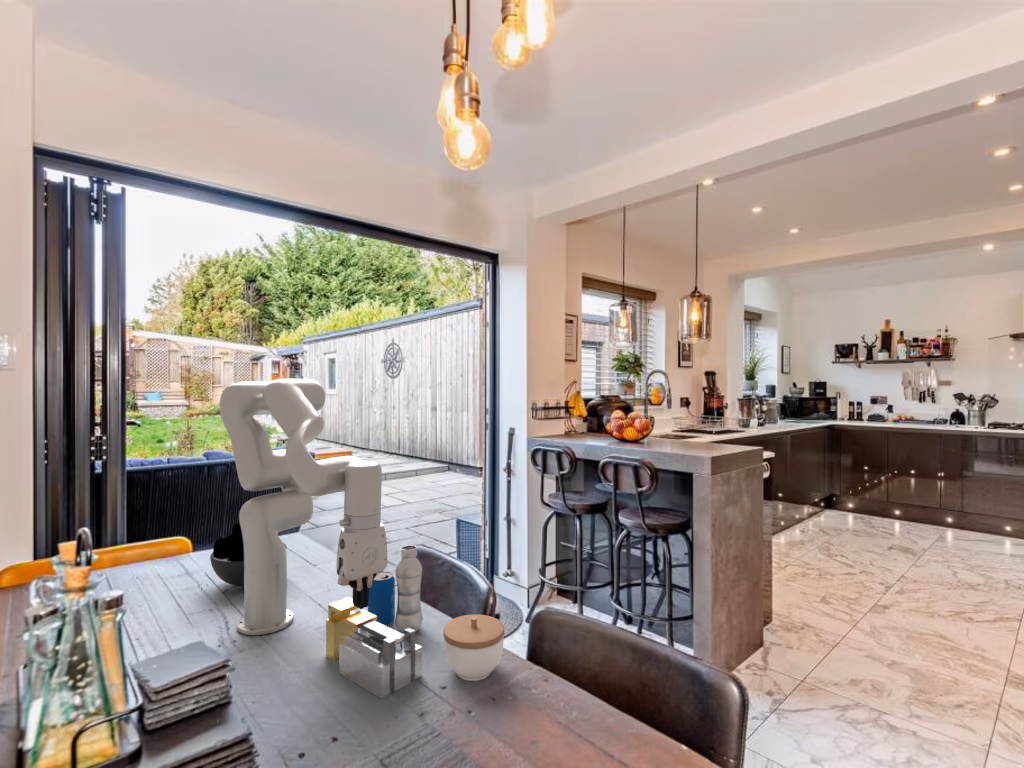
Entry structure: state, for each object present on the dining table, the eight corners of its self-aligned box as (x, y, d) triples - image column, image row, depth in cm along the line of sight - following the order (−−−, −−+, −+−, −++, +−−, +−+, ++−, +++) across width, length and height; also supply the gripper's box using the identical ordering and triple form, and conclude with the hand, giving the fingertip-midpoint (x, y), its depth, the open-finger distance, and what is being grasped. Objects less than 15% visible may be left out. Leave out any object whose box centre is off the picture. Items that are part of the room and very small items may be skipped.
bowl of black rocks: (210, 604, 140) (210, 534, 140) (209, 579, 158) (209, 516, 157) (291, 589, 150) (291, 524, 150) (282, 567, 168) (282, 508, 167)
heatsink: (339, 672, 108) (339, 624, 108) (379, 653, 116) (379, 608, 116) (381, 699, 99) (381, 646, 99) (421, 675, 107) (422, 627, 107)
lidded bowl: (480, 696, 100) (481, 639, 100) (430, 676, 107) (430, 622, 107) (515, 666, 111) (515, 614, 111) (467, 649, 118) (467, 600, 118)
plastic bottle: (427, 626, 128) (427, 545, 128) (413, 639, 122) (413, 553, 122) (404, 622, 131) (404, 542, 130) (389, 634, 124) (389, 550, 124)
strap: (410, 638, 105) (410, 631, 105) (390, 648, 101) (390, 641, 101) (362, 615, 115) (362, 609, 115) (342, 624, 111) (342, 617, 111)
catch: (326, 655, 115) (326, 604, 114) (349, 645, 119) (350, 596, 119) (339, 663, 111) (339, 611, 111) (363, 652, 116) (363, 602, 116)
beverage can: (387, 631, 126) (388, 581, 126) (363, 628, 127) (363, 579, 127) (398, 619, 132) (399, 571, 132) (375, 616, 134) (375, 569, 133)
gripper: (341, 532, 103) (339, 624, 103) (401, 516, 115) (399, 599, 115) (320, 524, 108) (318, 612, 108) (380, 510, 119) (378, 590, 120)
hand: (360, 605), depth 112 cm, fingers closed
